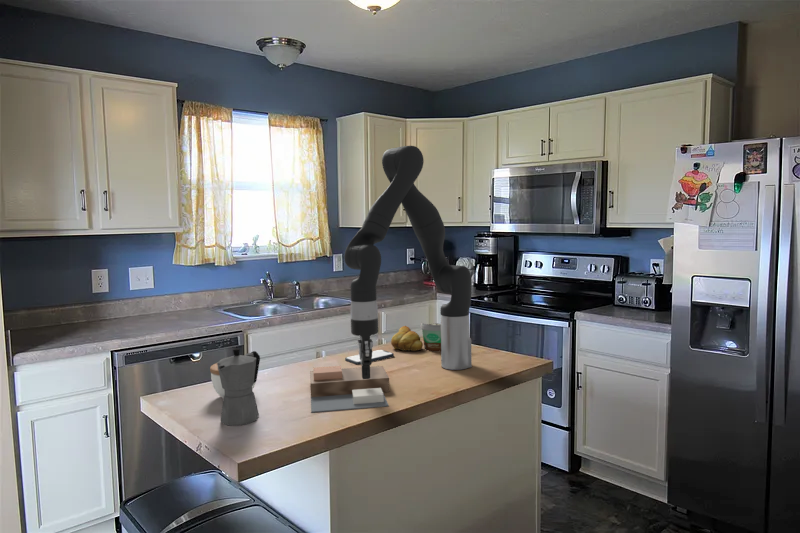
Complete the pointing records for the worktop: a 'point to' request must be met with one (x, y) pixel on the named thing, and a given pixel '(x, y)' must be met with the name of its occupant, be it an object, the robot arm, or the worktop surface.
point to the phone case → (375, 356)
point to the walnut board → (350, 382)
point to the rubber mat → (340, 403)
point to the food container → (431, 336)
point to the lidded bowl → (218, 380)
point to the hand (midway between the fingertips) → (366, 378)
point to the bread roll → (406, 340)
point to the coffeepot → (239, 388)
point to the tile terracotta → (327, 372)
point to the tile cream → (367, 395)
